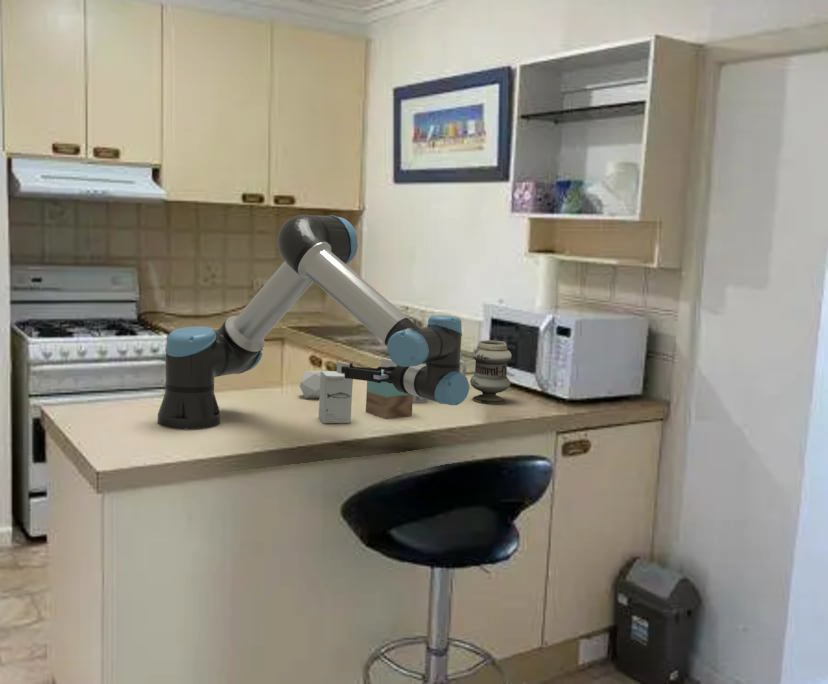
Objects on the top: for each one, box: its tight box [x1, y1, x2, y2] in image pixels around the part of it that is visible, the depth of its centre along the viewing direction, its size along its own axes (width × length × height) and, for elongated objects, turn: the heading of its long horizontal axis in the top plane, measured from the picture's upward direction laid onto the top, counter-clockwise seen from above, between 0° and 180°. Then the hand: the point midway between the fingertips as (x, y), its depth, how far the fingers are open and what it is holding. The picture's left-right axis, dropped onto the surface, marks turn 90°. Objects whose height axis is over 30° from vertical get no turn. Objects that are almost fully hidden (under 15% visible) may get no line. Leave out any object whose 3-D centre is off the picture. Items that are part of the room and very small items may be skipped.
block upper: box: [366, 369, 411, 397], centre depth 240 cm, size 9×9×6 cm
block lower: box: [365, 390, 414, 420], centre depth 241 cm, size 9×9×6 cm
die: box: [298, 370, 322, 399], centre depth 257 cm, size 8×9×10 cm
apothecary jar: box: [469, 339, 512, 405], centre depth 266 cm, size 12×12×18 cm
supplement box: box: [318, 370, 354, 424], centre depth 229 cm, size 7×7×13 cm
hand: (360, 365), depth 220 cm, fingers open, 13 cm apart
